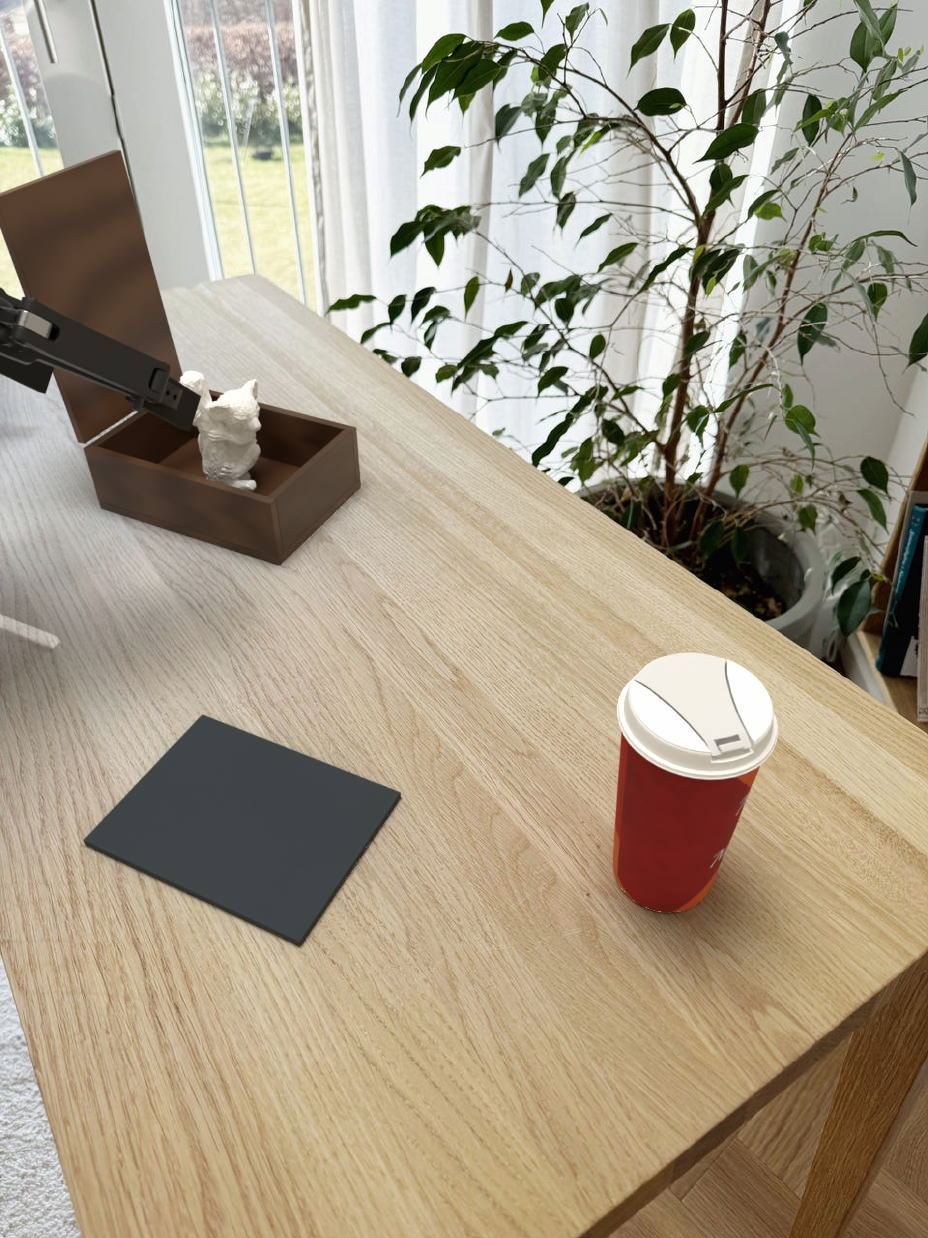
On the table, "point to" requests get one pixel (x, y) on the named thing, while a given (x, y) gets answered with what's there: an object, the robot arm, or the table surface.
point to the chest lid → (89, 272)
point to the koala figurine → (227, 431)
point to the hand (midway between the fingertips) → (117, 394)
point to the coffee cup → (685, 773)
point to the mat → (246, 826)
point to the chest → (222, 514)
